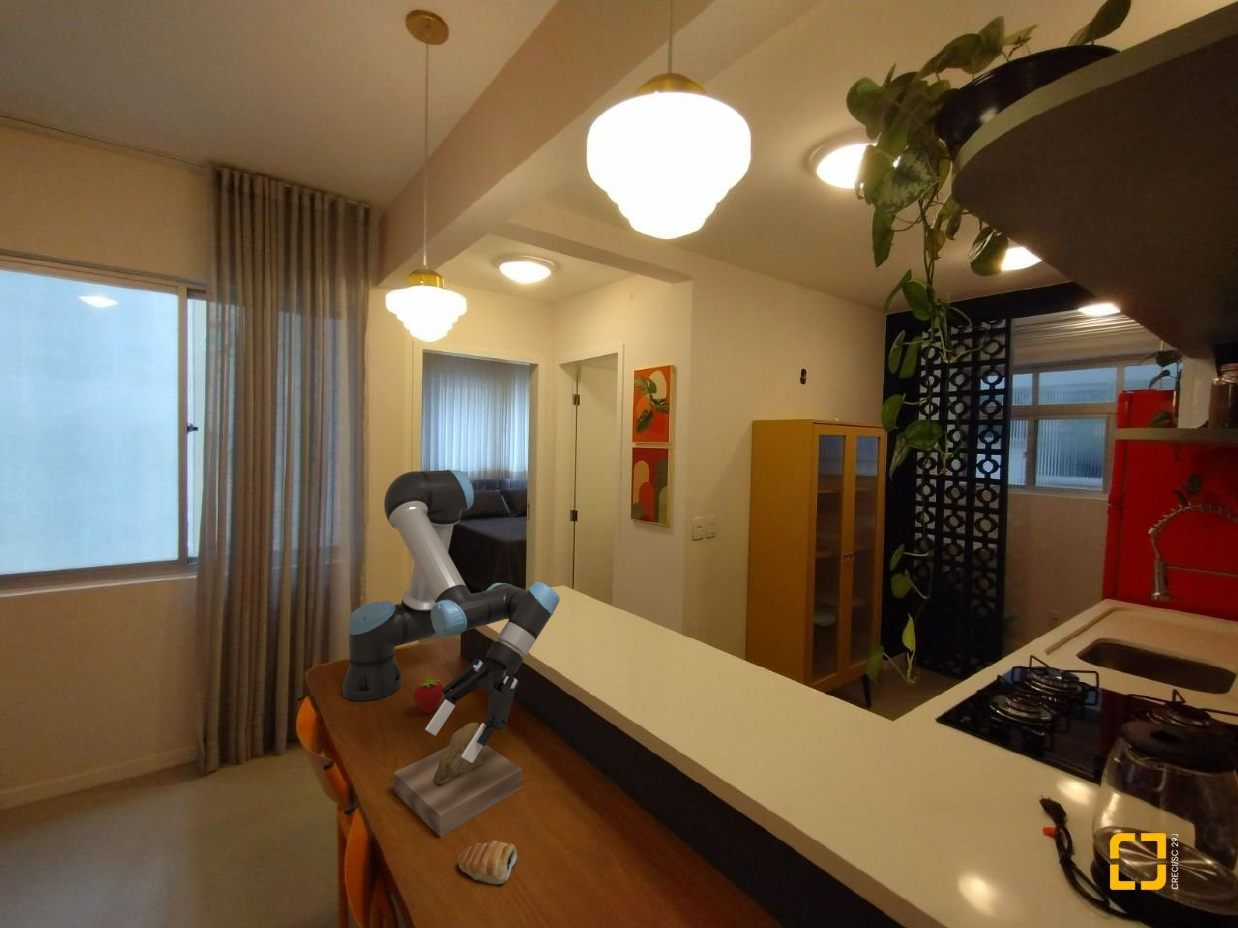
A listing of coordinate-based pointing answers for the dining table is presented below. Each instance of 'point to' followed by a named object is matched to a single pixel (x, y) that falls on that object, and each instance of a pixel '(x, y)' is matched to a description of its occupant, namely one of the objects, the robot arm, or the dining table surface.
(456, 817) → the walnut base
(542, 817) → the dining table surface
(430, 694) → the strawberry
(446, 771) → the rock
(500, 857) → the pastry
